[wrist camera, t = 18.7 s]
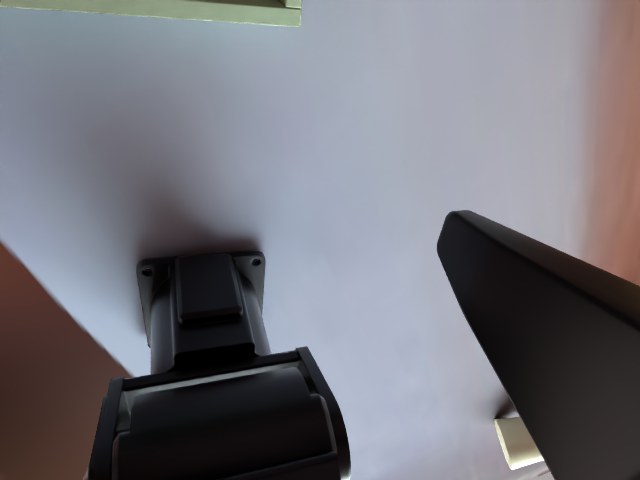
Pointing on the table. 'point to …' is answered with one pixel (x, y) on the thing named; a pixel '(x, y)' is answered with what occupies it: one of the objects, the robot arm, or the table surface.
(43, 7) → the tray
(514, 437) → the flower vase
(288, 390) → the robot arm
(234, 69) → the table surface
